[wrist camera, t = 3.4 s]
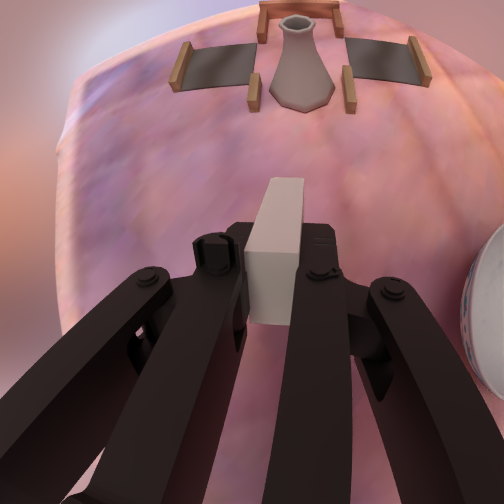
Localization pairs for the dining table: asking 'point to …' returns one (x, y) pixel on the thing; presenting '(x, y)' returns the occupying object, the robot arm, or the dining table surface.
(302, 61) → the flask
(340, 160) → the dining table surface
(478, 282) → the chinaware
